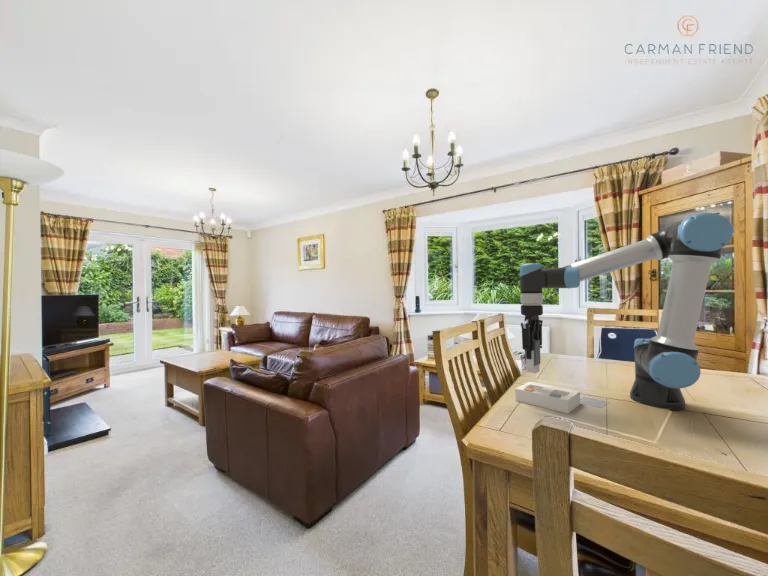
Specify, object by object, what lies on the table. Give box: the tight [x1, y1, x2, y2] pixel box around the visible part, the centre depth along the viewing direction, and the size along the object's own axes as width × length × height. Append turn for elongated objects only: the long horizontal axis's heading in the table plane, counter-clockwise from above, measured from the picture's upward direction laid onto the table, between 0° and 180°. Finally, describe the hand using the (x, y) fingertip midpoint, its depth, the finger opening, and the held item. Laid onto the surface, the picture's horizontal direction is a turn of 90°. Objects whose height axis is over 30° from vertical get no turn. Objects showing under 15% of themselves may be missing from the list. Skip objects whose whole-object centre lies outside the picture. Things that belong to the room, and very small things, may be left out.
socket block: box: [514, 381, 581, 415], centre depth 116 cm, size 18×12×5 cm, turn 41°
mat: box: [580, 396, 609, 409], centre depth 115 cm, size 8×8×1 cm
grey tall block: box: [524, 339, 541, 374], centre depth 120 cm, size 4×4×12 cm
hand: (532, 366), depth 120 cm, fingers closed on grey tall block, 4 cm apart
